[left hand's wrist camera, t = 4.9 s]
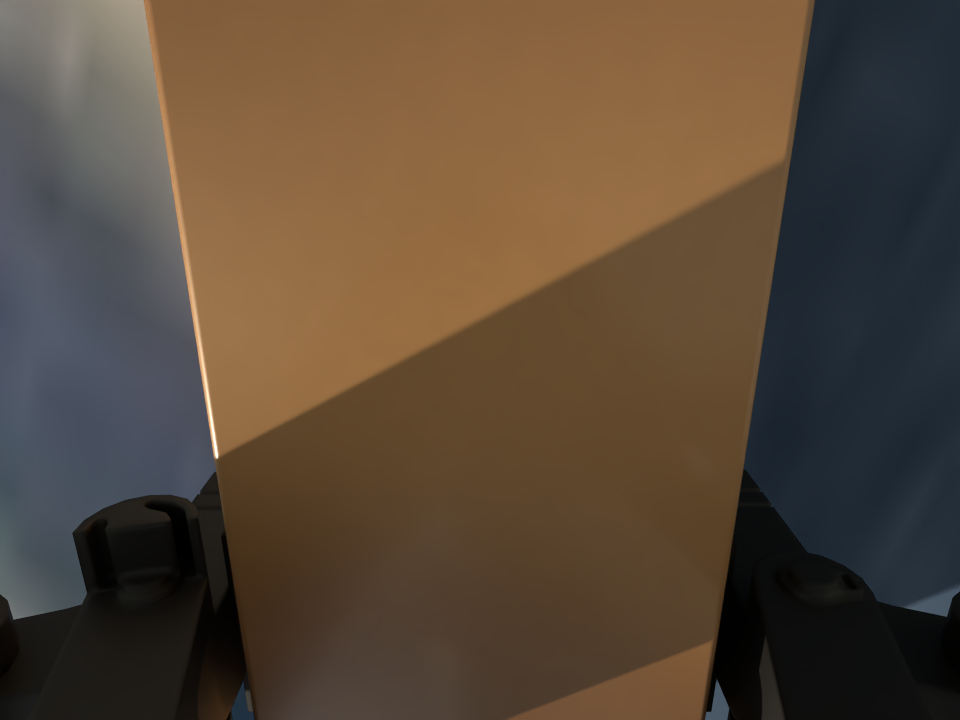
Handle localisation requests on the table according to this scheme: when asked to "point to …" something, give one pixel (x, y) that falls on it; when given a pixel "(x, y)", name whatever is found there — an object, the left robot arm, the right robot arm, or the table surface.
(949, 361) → the table surface
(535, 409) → the plank
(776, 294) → the table surface
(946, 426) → the table surface
